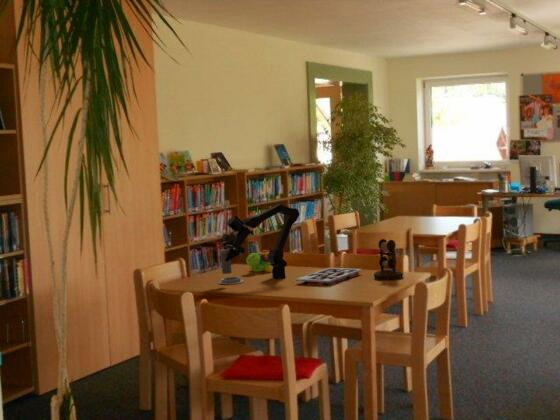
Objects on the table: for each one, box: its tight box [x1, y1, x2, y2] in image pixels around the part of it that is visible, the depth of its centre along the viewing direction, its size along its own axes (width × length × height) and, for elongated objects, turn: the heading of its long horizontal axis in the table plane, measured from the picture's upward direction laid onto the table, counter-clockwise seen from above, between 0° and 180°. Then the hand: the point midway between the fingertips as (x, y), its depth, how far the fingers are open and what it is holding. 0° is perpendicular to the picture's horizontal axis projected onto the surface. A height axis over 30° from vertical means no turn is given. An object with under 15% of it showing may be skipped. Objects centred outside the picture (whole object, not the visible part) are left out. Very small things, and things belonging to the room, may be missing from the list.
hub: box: [218, 276, 244, 286], centre depth 420 cm, size 13×13×2 cm
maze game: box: [295, 267, 363, 286], centre depth 411 cm, size 35×20×3 cm, turn 146°
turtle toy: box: [245, 249, 273, 273], centre depth 451 cm, size 17×23×12 cm
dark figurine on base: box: [373, 238, 404, 281], centre depth 404 cm, size 15×15×20 cm
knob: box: [219, 249, 233, 275], centre depth 410 cm, size 5×5×12 cm
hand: (223, 260), depth 409 cm, fingers closed on knob, 5 cm apart
